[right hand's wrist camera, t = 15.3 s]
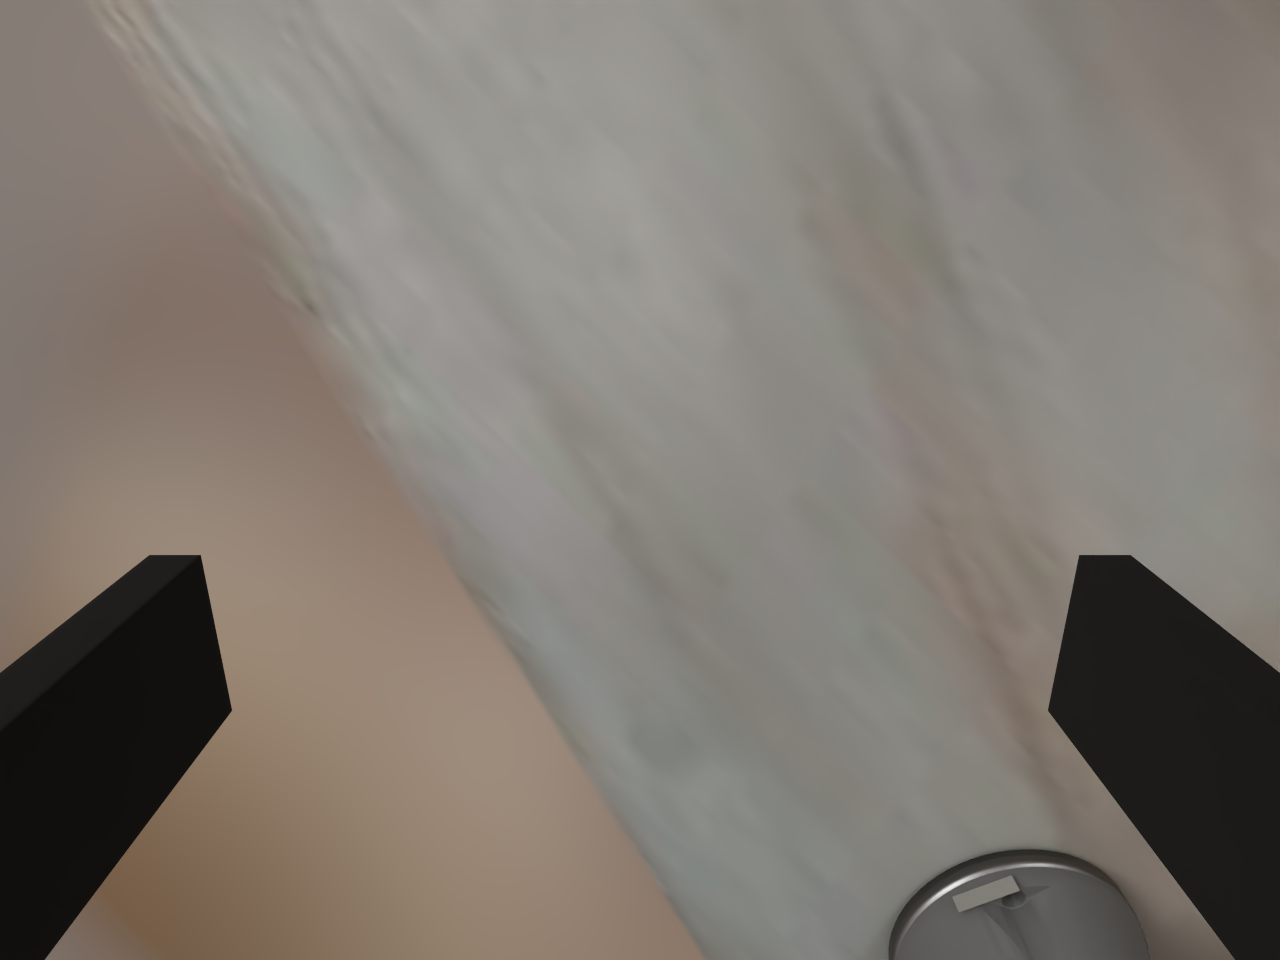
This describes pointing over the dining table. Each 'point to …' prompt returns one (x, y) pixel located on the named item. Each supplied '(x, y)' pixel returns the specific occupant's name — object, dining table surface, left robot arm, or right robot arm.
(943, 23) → the dining table surface
